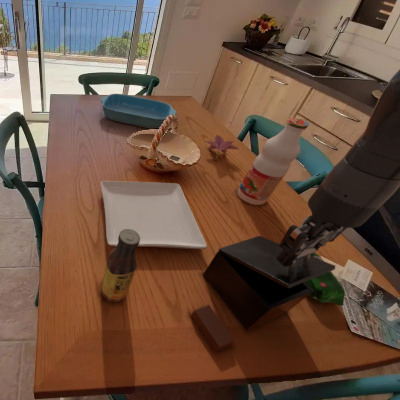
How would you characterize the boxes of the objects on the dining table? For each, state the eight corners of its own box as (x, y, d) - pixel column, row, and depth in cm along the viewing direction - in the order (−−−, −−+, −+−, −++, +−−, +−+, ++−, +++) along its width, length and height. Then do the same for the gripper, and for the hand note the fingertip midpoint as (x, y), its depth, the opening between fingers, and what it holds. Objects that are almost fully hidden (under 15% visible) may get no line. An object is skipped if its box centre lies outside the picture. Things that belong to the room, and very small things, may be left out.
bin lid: (335, 269, 51) (340, 244, 50) (288, 288, 48) (292, 261, 46) (259, 238, 65) (261, 218, 64) (218, 251, 62) (219, 230, 60)
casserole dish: (173, 116, 139) (178, 102, 134) (170, 135, 123) (174, 121, 118) (105, 103, 146) (107, 90, 142) (93, 120, 130) (95, 106, 126)
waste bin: (287, 312, 62) (314, 290, 56) (246, 330, 59) (269, 309, 52) (240, 261, 72) (258, 238, 66) (202, 274, 69) (217, 251, 62)
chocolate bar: (230, 345, 56) (235, 340, 54) (215, 351, 55) (219, 347, 53) (204, 309, 62) (208, 304, 60) (190, 315, 60) (194, 310, 59)
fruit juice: (266, 209, 88) (321, 132, 70) (235, 200, 91) (281, 124, 72) (264, 193, 95) (315, 118, 76) (236, 185, 98) (278, 111, 79)
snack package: (303, 255, 75) (315, 243, 71) (340, 309, 63) (356, 298, 60) (277, 253, 75) (288, 241, 72) (310, 307, 63) (324, 296, 60)
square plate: (106, 253, 72) (107, 244, 69) (99, 188, 92) (100, 179, 90) (204, 255, 73) (209, 246, 70) (176, 190, 93) (179, 182, 91)
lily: (237, 164, 110) (244, 140, 108) (225, 161, 102) (232, 136, 100) (208, 159, 119) (215, 137, 116) (195, 156, 111) (202, 133, 109)
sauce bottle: (112, 309, 61) (127, 256, 47) (95, 288, 64) (104, 234, 51) (132, 293, 64) (152, 240, 50) (115, 274, 67) (129, 220, 54)
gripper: (347, 216, 37) (283, 285, 48) (409, 196, 41) (336, 264, 52) (297, 185, 42) (249, 253, 53) (355, 170, 46) (300, 236, 57)
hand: (292, 258), depth 52 cm, fingers closed on bin lid, 5 cm apart
